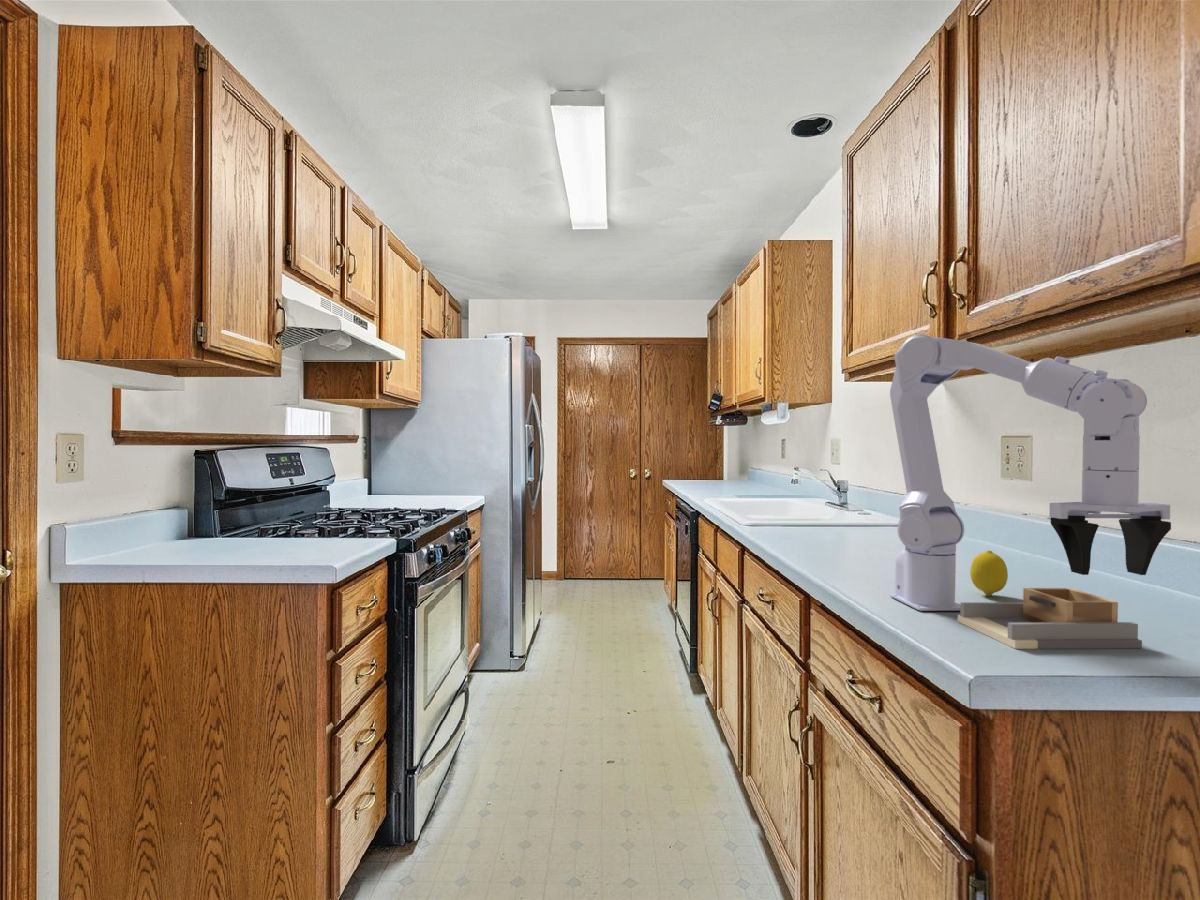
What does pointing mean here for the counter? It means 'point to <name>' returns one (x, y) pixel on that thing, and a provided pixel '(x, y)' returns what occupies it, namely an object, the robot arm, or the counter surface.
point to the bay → (1044, 629)
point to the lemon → (989, 572)
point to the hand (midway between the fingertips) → (1108, 573)
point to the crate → (1067, 606)
